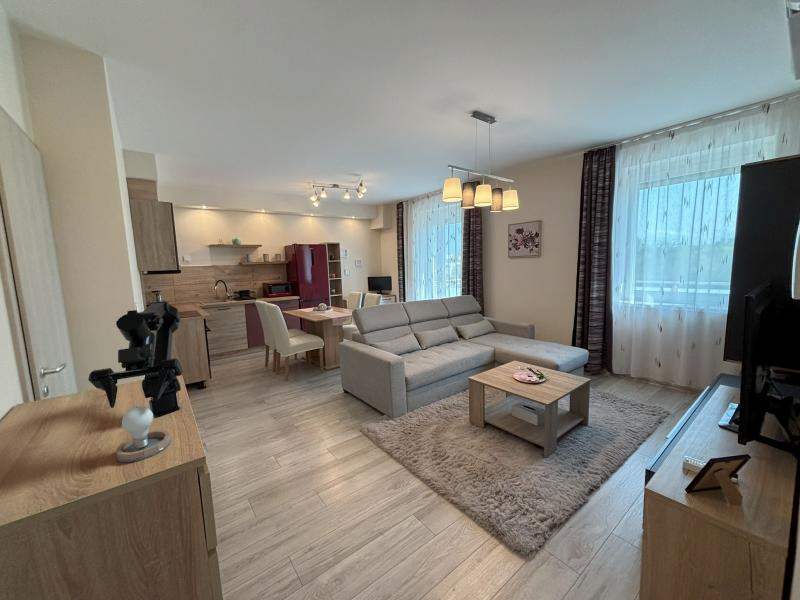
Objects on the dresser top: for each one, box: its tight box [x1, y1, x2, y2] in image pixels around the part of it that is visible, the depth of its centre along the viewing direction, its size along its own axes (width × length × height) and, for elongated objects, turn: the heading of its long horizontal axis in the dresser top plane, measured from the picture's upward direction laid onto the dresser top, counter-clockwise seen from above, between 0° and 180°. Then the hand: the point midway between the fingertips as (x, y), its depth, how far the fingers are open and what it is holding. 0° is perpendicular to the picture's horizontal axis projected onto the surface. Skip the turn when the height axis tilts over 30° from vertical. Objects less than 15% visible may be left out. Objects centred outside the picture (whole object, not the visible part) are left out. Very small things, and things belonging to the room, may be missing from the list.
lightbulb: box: [121, 406, 154, 448], centre depth 83 cm, size 6×6×11 cm
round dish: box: [115, 429, 172, 464], centre depth 84 cm, size 11×11×2 cm
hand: (135, 403), depth 81 cm, fingers open, 9 cm apart
